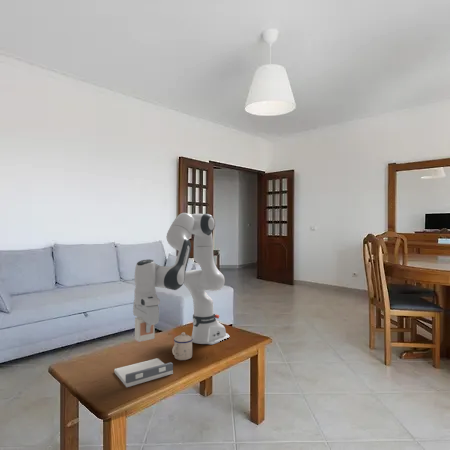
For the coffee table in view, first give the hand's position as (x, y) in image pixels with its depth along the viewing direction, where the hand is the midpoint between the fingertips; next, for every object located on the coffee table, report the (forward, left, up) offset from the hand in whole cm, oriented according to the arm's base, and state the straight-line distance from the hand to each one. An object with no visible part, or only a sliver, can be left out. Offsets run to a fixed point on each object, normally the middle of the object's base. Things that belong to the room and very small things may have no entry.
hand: (144, 330), depth 135 cm
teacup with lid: (-21, -7, -19) cm, 29 cm away
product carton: (0, 0, -4) cm, 4 cm away
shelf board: (0, -2, -19) cm, 19 cm away
